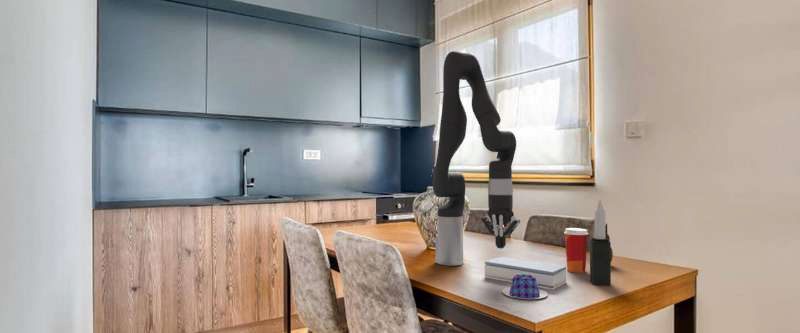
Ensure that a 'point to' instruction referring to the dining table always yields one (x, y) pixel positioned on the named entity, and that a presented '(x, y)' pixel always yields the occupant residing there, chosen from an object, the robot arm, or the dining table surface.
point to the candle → (600, 251)
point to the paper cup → (576, 249)
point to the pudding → (524, 287)
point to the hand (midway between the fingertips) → (500, 247)
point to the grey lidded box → (541, 278)
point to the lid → (526, 265)
